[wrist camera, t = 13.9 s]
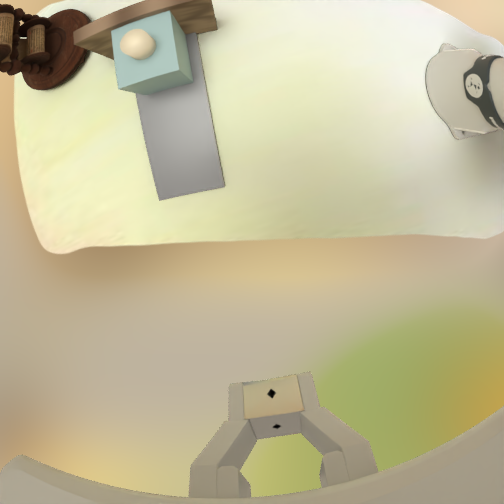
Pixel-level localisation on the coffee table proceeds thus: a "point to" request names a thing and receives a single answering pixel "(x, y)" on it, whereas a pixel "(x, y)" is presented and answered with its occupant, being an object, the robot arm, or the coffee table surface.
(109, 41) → the backstop wall
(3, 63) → the scroll
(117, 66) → the dowel block
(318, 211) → the coffee table surface
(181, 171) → the grey flat rectangular plate
